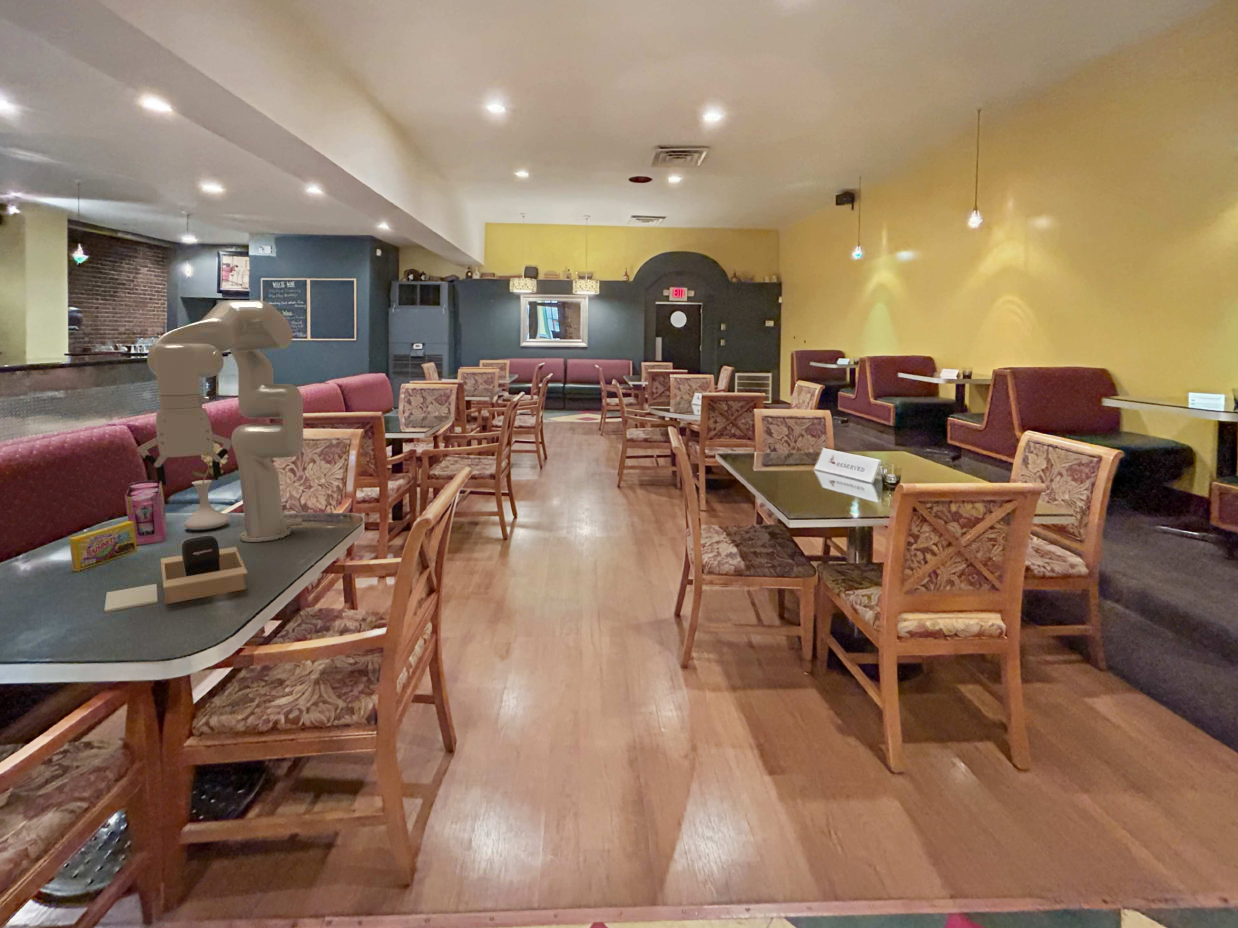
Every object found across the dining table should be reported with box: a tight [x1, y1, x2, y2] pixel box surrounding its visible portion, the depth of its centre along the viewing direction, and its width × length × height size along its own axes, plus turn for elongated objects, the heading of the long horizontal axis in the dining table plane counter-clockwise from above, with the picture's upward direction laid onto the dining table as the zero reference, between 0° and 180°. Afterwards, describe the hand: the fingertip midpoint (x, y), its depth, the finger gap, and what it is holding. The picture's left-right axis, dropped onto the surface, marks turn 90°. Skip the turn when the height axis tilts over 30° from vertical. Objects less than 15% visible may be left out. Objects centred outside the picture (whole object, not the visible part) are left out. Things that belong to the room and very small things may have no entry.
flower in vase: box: [183, 441, 230, 531], centre depth 200 cm, size 13×11×25 cm
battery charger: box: [180, 534, 220, 577], centre depth 153 cm, size 7×4×11 cm, turn 132°
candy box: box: [68, 520, 138, 572], centre depth 172 cm, size 16×2×8 cm, turn 168°
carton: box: [160, 546, 249, 605], centre depth 153 cm, size 15×22×5 cm
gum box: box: [124, 479, 168, 546], centre depth 194 cm, size 24×8×14 cm, turn 32°
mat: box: [103, 583, 159, 613], centre depth 147 cm, size 9×12×1 cm
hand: (190, 481), depth 150 cm, fingers open, 9 cm apart
